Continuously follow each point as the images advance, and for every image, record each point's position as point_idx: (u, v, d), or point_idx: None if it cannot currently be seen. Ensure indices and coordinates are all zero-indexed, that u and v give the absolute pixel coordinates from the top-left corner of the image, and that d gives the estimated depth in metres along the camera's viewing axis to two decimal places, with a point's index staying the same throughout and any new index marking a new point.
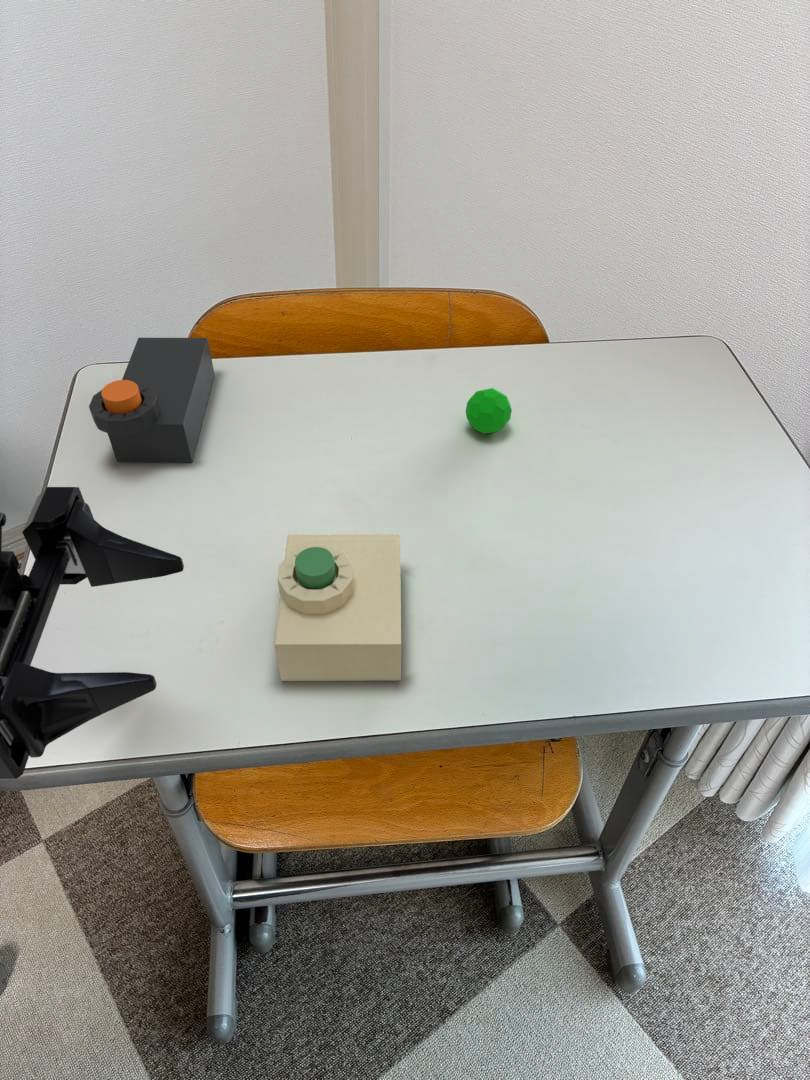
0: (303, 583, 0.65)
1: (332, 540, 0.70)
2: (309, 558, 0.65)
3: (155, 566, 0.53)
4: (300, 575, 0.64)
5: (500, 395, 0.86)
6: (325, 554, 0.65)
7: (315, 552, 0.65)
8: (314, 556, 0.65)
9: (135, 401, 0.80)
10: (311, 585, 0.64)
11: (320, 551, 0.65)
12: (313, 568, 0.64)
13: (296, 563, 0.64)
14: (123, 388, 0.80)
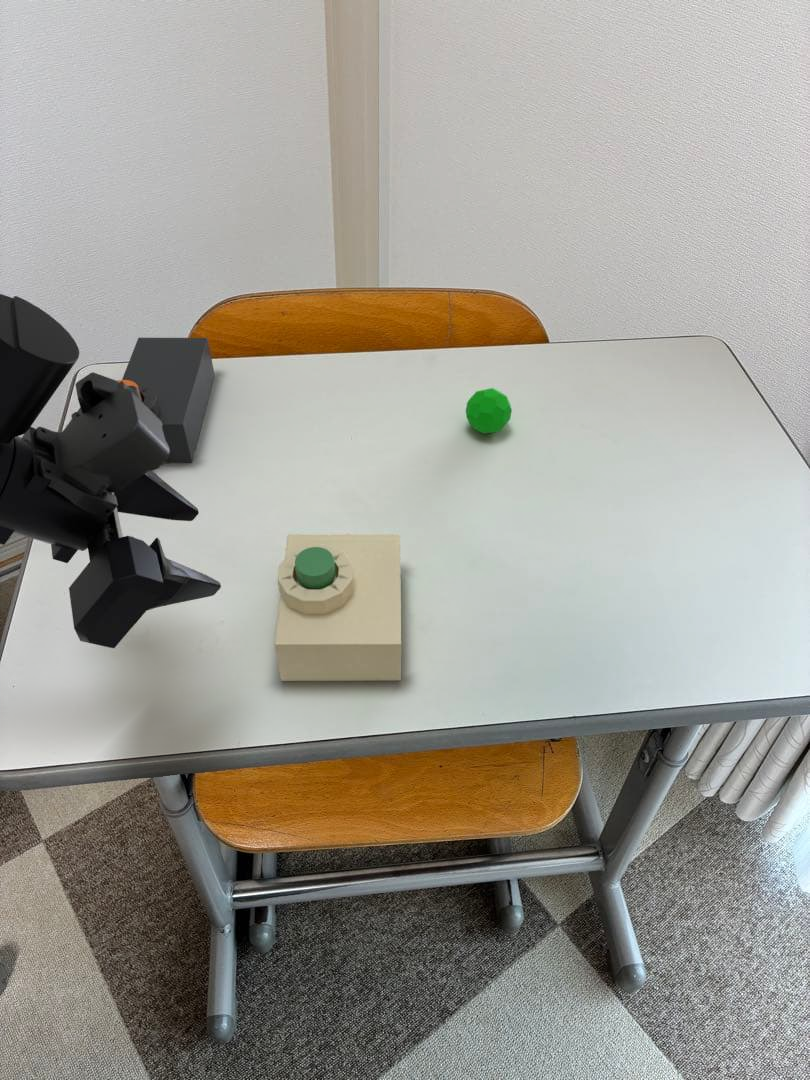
0: (303, 583, 0.65)
1: (332, 540, 0.70)
2: (309, 558, 0.65)
3: (176, 509, 0.60)
4: (300, 575, 0.64)
5: (500, 395, 0.86)
6: (325, 554, 0.65)
7: (315, 552, 0.65)
8: (314, 556, 0.65)
9: None
10: (311, 585, 0.64)
11: (320, 551, 0.65)
12: (313, 568, 0.64)
13: (296, 563, 0.64)
14: None
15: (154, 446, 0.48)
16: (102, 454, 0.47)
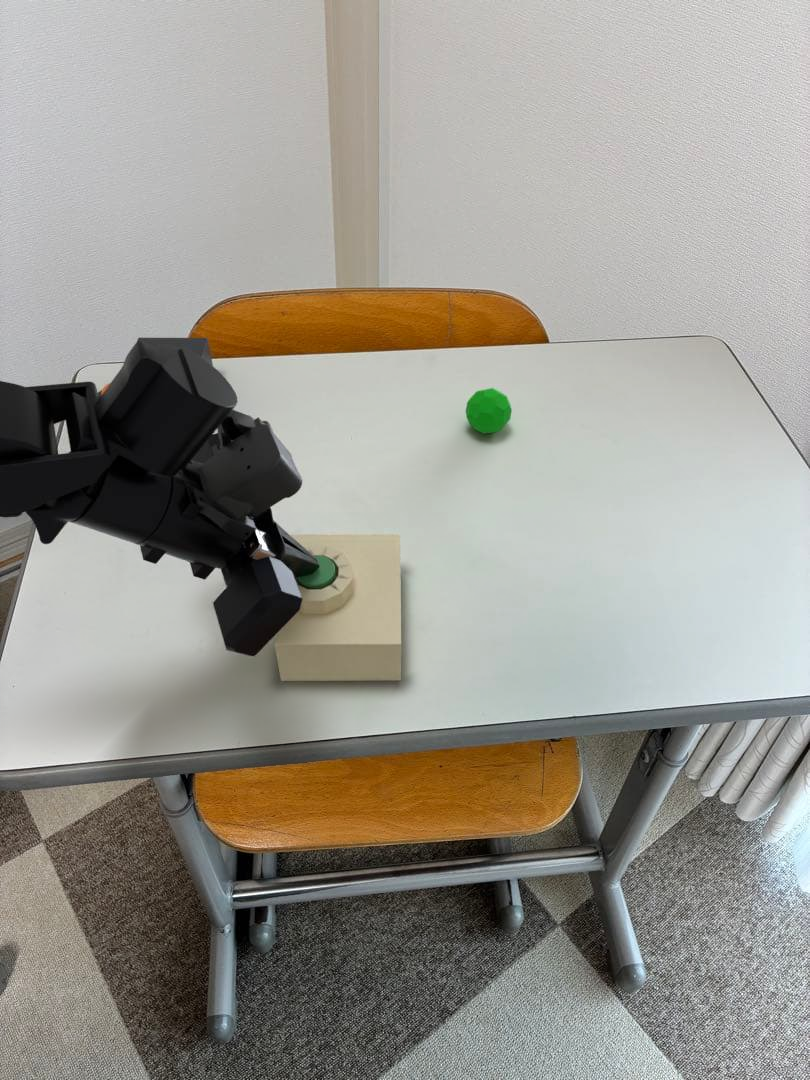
0: None
1: (332, 540, 0.70)
2: None
3: None
4: (301, 583, 0.65)
5: (500, 395, 0.86)
6: (326, 563, 0.66)
7: None
8: None
9: None
10: None
11: (321, 559, 0.66)
12: (314, 577, 0.65)
13: None
14: None
15: (292, 477, 0.54)
16: (249, 484, 0.53)
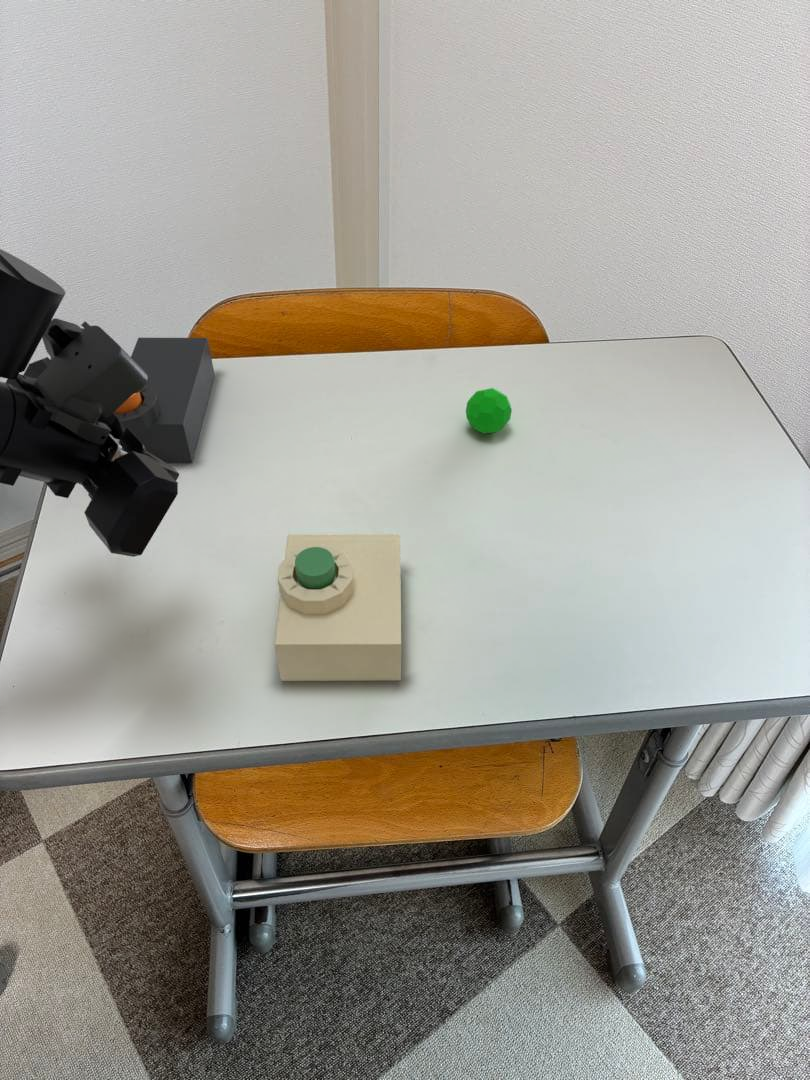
0: (303, 583, 0.65)
1: (332, 540, 0.70)
2: (309, 558, 0.65)
3: None
4: (300, 575, 0.64)
5: (500, 395, 0.86)
6: (325, 554, 0.65)
7: (315, 552, 0.65)
8: (314, 556, 0.65)
9: (135, 401, 0.80)
10: (311, 585, 0.64)
11: (320, 551, 0.65)
12: (313, 568, 0.64)
13: (296, 563, 0.64)
14: None
15: (136, 369, 0.54)
16: (94, 381, 0.52)
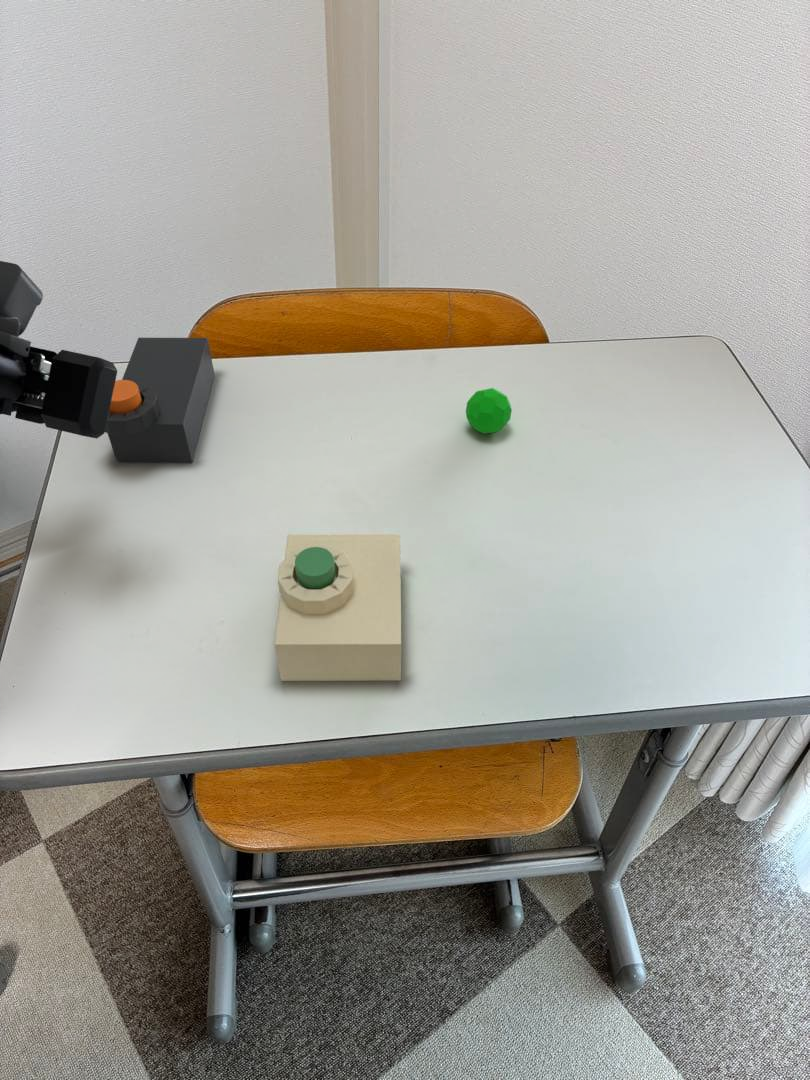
0: (303, 583, 0.65)
1: (332, 540, 0.70)
2: (309, 558, 0.65)
3: None
4: (300, 575, 0.64)
5: (500, 395, 0.86)
6: (325, 554, 0.65)
7: (315, 552, 0.65)
8: (314, 556, 0.65)
9: (135, 401, 0.80)
10: (311, 585, 0.64)
11: (320, 551, 0.65)
12: (313, 568, 0.64)
13: (296, 563, 0.64)
14: (123, 388, 0.80)
15: (33, 283, 0.62)
16: (9, 297, 0.60)
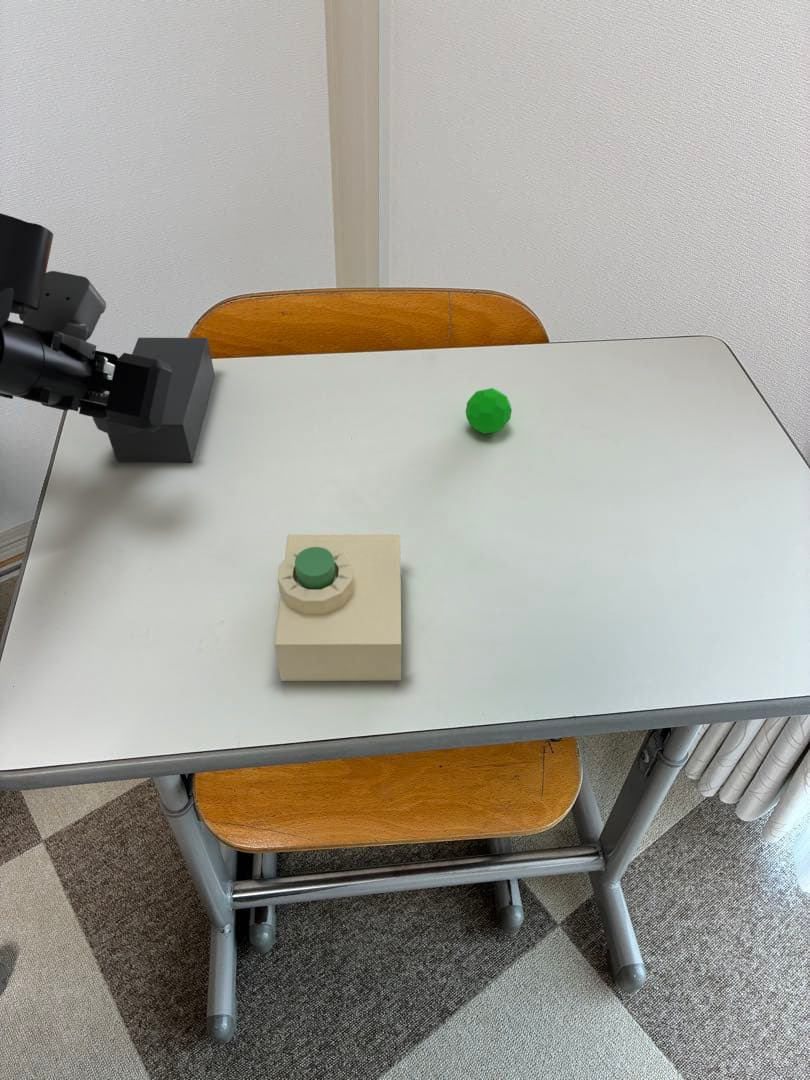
0: (303, 583, 0.65)
1: (332, 540, 0.70)
2: (309, 558, 0.65)
3: None
4: (300, 575, 0.64)
5: (500, 395, 0.86)
6: (325, 554, 0.65)
7: (315, 552, 0.65)
8: (314, 556, 0.65)
9: None
10: (311, 585, 0.64)
11: (320, 551, 0.65)
12: (313, 568, 0.64)
13: (296, 563, 0.64)
14: None
15: None
16: (79, 306, 0.68)
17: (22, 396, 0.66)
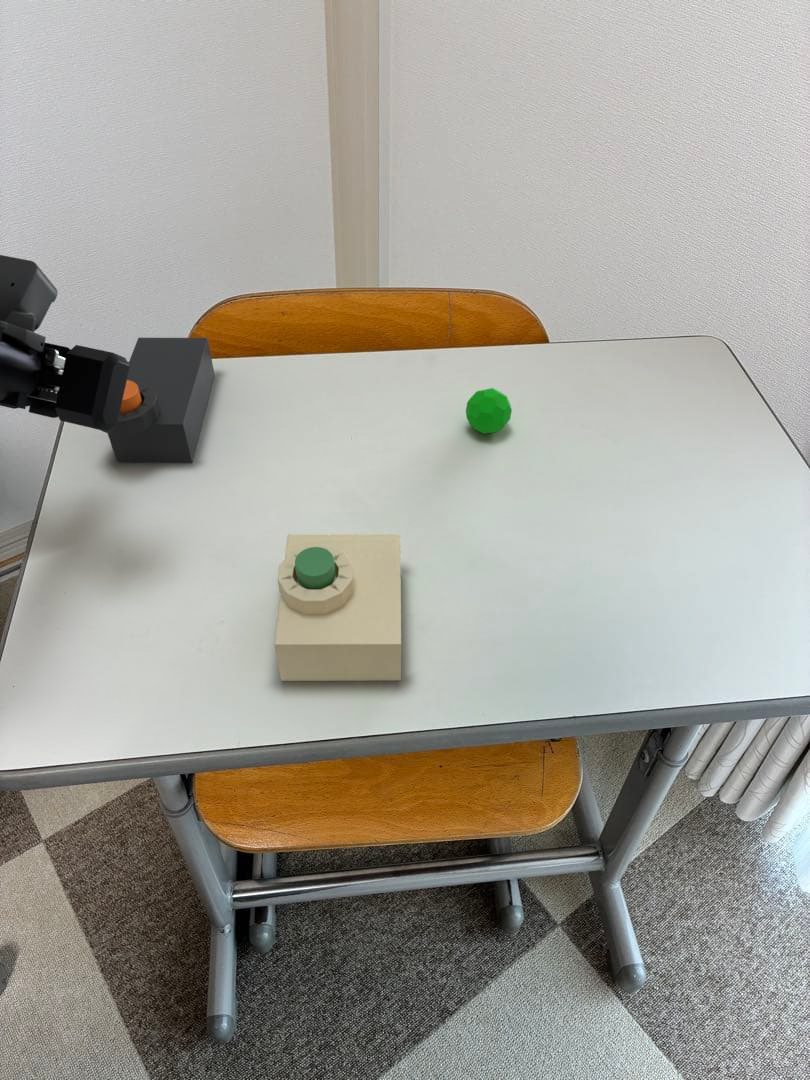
0: (303, 583, 0.65)
1: (332, 540, 0.70)
2: (309, 558, 0.65)
3: None
4: (300, 575, 0.64)
5: (500, 395, 0.86)
6: (325, 554, 0.65)
7: (315, 552, 0.65)
8: (314, 556, 0.65)
9: (135, 401, 0.80)
10: (311, 585, 0.64)
11: (320, 551, 0.65)
12: (313, 568, 0.64)
13: (296, 563, 0.64)
14: None
15: (49, 280, 0.64)
16: (25, 293, 0.61)
17: None
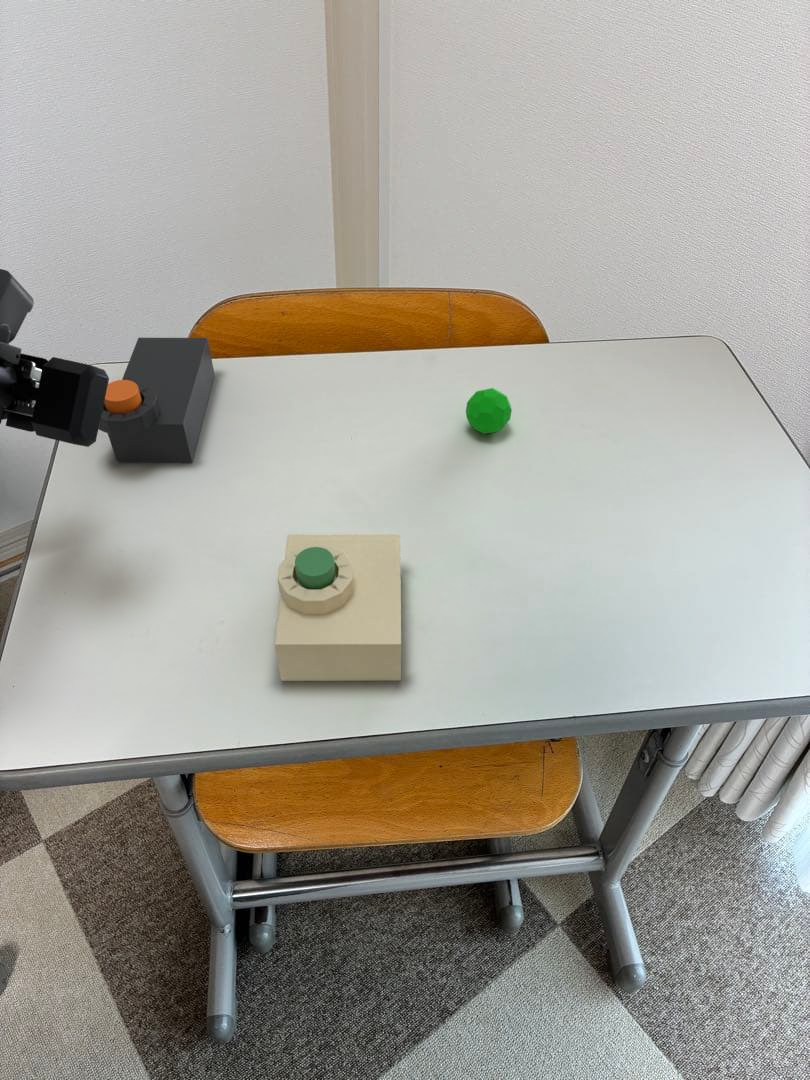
0: (303, 583, 0.65)
1: (332, 540, 0.70)
2: (309, 558, 0.65)
3: None
4: (300, 575, 0.64)
5: (500, 395, 0.86)
6: (325, 554, 0.65)
7: (315, 552, 0.65)
8: (314, 556, 0.65)
9: (135, 401, 0.80)
10: (311, 585, 0.64)
11: (320, 551, 0.65)
12: (313, 568, 0.64)
13: (296, 563, 0.64)
14: (123, 388, 0.80)
15: (24, 289, 0.61)
16: None
17: None
